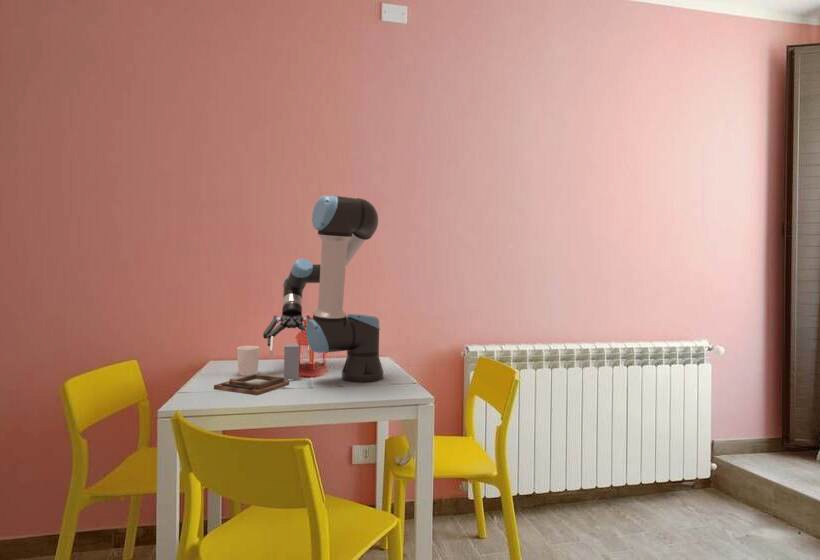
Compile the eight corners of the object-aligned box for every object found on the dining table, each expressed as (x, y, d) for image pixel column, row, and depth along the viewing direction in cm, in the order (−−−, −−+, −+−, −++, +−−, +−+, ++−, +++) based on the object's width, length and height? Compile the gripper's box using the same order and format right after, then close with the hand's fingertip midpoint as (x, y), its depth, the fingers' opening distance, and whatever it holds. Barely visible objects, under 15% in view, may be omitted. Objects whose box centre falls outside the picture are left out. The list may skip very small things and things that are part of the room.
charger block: (298, 377, 185) (299, 344, 185) (298, 380, 180) (298, 346, 180) (284, 377, 184) (284, 344, 184) (284, 380, 179) (284, 346, 179)
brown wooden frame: (289, 384, 173) (289, 376, 173) (257, 395, 158) (257, 386, 158) (247, 379, 180) (247, 371, 180) (213, 388, 166) (213, 380, 165)
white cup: (246, 371, 194) (246, 345, 194) (263, 373, 191) (263, 346, 191) (232, 375, 187) (232, 348, 186) (250, 377, 184) (250, 349, 184)
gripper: (324, 313, 205) (324, 357, 191) (260, 314, 200) (255, 358, 186) (324, 301, 200) (325, 345, 185) (258, 301, 195) (254, 346, 181)
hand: (290, 352), depth 186 cm, fingers open, 13 cm apart
